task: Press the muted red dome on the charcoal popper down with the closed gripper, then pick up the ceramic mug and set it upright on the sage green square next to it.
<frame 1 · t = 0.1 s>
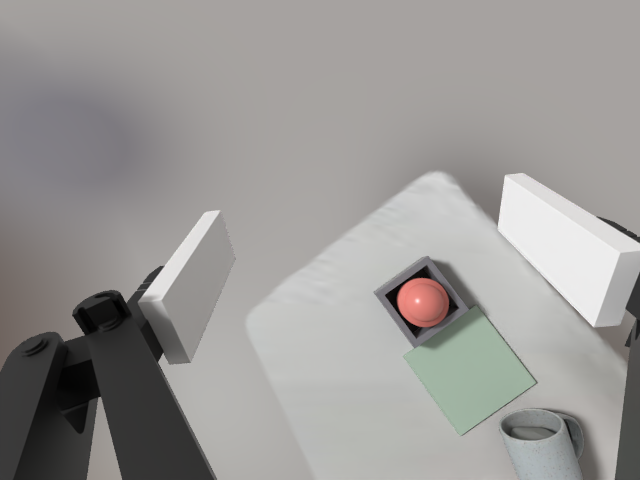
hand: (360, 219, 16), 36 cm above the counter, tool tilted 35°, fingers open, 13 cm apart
sage square: (467, 368, 48), on the counter
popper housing: (416, 299, 50), on the counter
ceramic mug: (533, 433, 46), on the counter
red dome: (423, 302, 45), point 5 cm above the counter, slide at 0.0 cm
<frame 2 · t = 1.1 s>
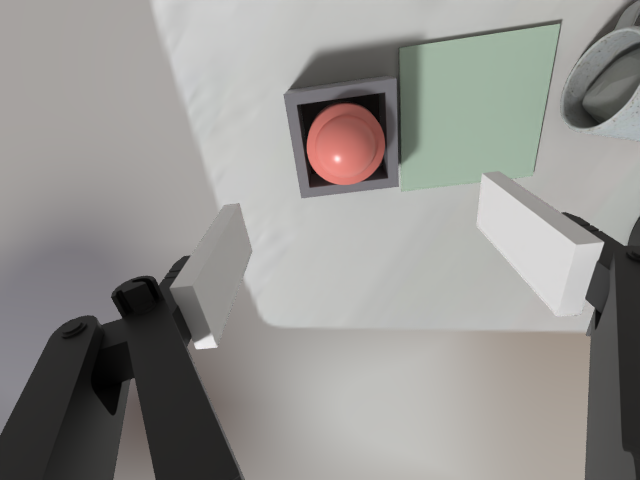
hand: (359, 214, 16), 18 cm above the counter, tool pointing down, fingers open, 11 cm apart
sage square: (470, 116, 31), on the counter
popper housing: (342, 133, 32), on the counter
ceramic mug: (611, 69, 29), on the counter
red dome: (345, 146, 28), point 5 cm above the counter, slide at 0.0 cm
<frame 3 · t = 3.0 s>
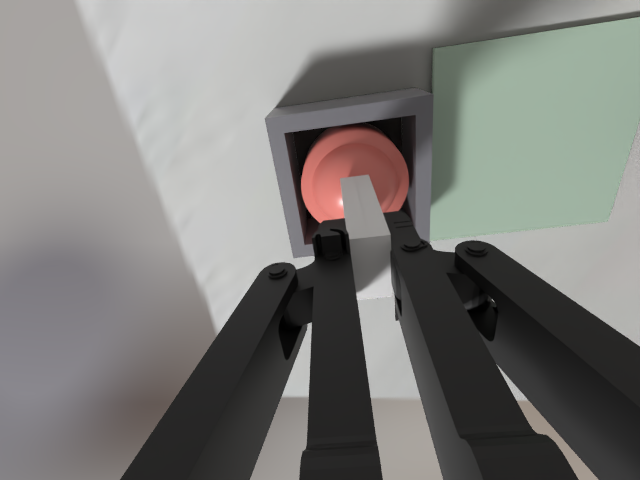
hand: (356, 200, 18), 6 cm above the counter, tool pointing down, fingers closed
sage square: (528, 143, 22), on the counter
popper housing: (350, 166, 23), on the counter
red dome: (354, 183, 20), point 4 cm above the counter, slide at 1.5 cm, touching gripper
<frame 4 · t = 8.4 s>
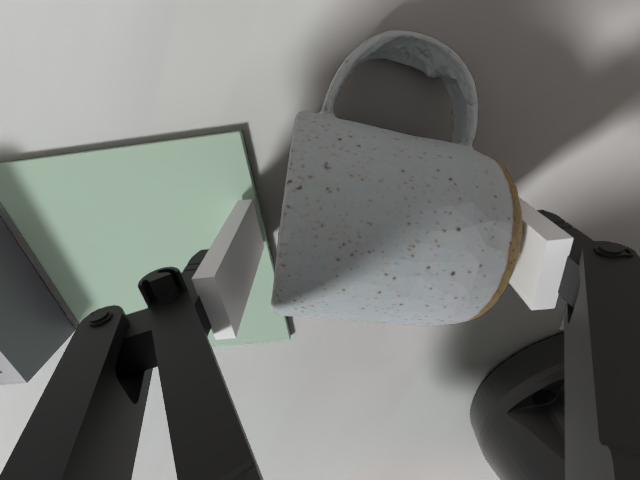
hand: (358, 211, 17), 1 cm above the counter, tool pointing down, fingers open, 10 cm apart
sage square: (158, 261, 19), on the counter
ceramic mug: (369, 165, 16), on the counter, touching gripper
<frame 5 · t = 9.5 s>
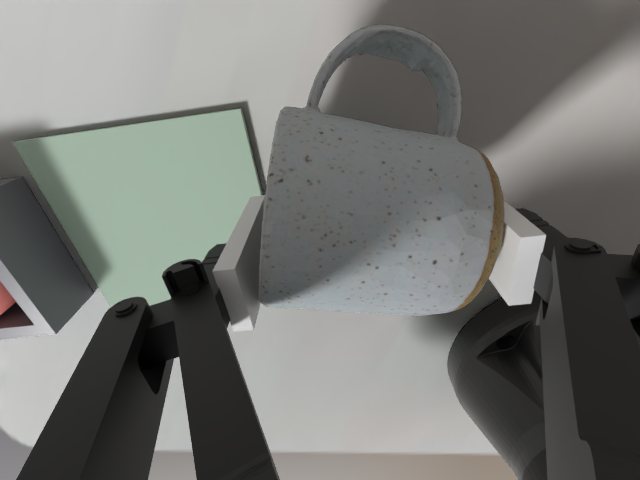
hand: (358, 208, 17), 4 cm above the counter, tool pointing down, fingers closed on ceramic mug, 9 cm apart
sage square: (169, 227, 22), on the counter
ceramic mug: (359, 159, 16), point 3 cm above the counter, touching gripper
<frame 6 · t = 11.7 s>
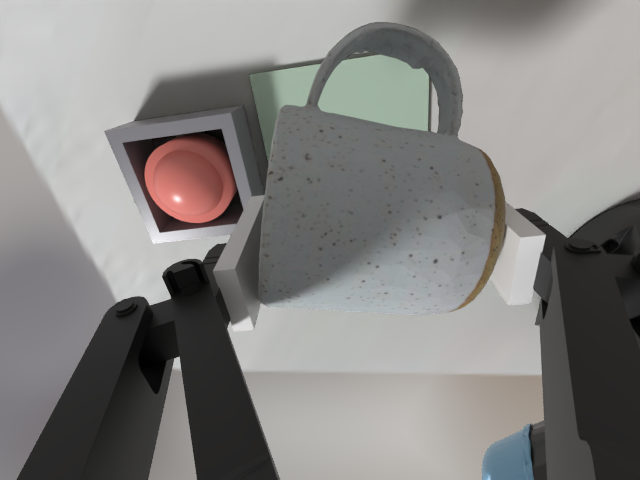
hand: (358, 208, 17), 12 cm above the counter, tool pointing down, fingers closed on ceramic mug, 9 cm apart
sage square: (345, 150, 27), on the counter
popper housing: (205, 168, 28), on the counter
ceramic mug: (359, 158, 16), point 11 cm above the counter, touching gripper
red dome: (190, 182, 25), point 3 cm above the counter, slide at 1.6 cm
when the fingers open (2 cm above the counter, at t = 14.3 s): ceramic mug stays where it is, resting on sage square.
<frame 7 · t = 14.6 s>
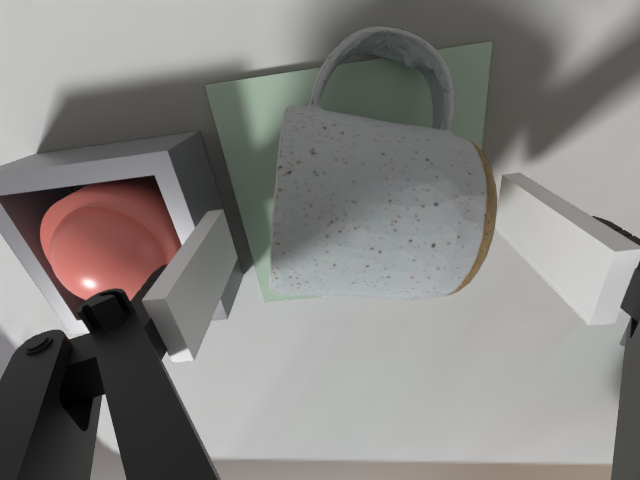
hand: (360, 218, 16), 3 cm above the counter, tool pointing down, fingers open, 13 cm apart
sage square: (355, 195, 18), on the counter
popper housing: (149, 220, 19), on the counter
ceramic mug: (358, 154, 17), resting on sage square
red dome: (117, 250, 16), point 3 cm above the counter, slide at 1.6 cm
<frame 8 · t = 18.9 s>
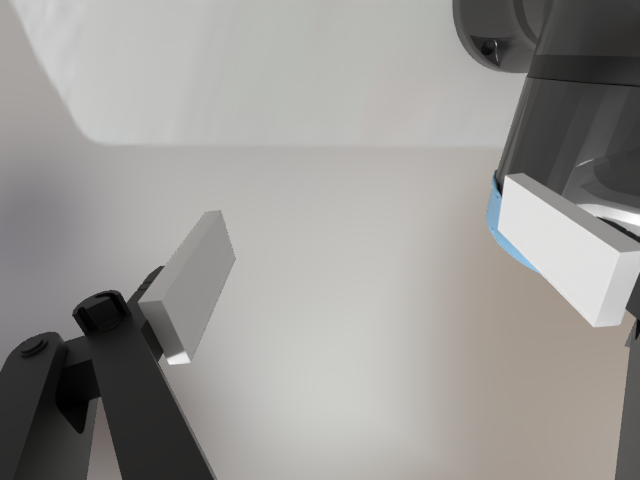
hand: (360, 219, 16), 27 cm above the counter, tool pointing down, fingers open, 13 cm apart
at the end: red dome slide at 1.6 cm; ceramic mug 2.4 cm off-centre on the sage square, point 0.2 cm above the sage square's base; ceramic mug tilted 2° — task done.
